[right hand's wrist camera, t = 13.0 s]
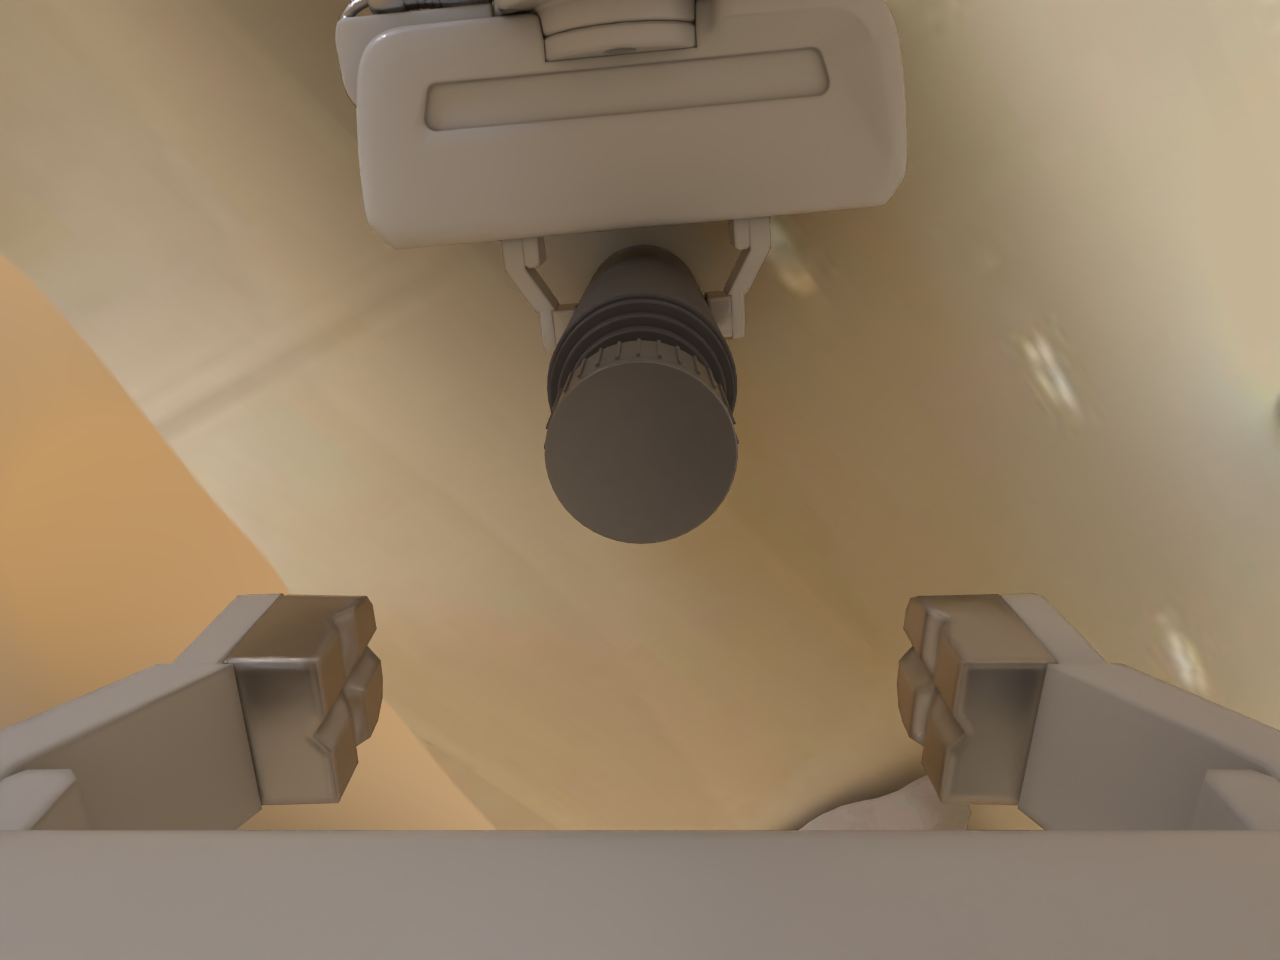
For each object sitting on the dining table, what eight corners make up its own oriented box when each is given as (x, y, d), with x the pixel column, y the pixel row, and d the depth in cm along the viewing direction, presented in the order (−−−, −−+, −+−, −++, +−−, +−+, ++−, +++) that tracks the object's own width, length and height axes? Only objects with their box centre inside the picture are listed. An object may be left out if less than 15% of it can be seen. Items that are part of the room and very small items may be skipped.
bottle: (665, 223, 37) (690, 279, 16) (719, 324, 39) (805, 493, 18) (566, 281, 38) (471, 405, 17) (622, 378, 40) (598, 598, 19)
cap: (676, 303, 18) (680, 319, 16) (760, 457, 20) (774, 491, 17) (519, 393, 19) (503, 419, 17) (610, 536, 20) (606, 577, 18)
